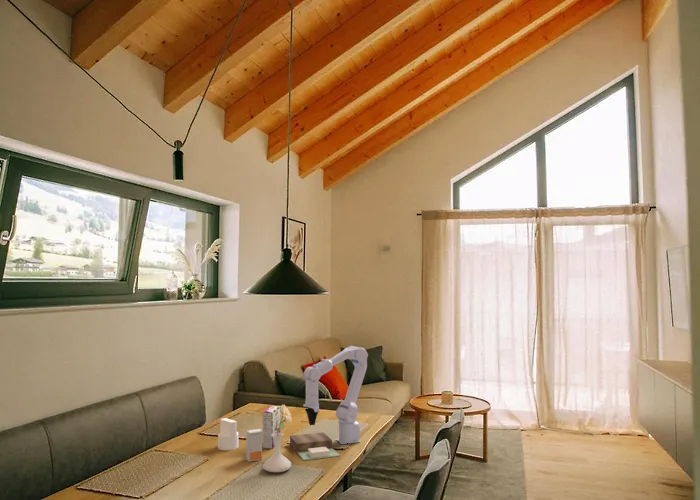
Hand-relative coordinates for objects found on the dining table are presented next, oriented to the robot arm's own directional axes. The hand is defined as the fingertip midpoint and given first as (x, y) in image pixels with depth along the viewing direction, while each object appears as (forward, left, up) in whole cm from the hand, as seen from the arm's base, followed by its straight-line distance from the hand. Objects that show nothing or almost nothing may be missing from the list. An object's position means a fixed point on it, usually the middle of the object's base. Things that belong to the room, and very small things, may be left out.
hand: (312, 424), depth 238 cm
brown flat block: (0, -2, -10) cm, 11 cm away
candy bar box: (+16, -11, -11) cm, 22 cm away
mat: (0, +10, -10) cm, 14 cm away
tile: (0, +11, -8) cm, 13 cm away
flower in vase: (+20, +21, -11) cm, 31 cm away
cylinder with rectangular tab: (+35, -15, -11) cm, 40 cm away
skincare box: (+27, +6, -11) cm, 30 cm away
